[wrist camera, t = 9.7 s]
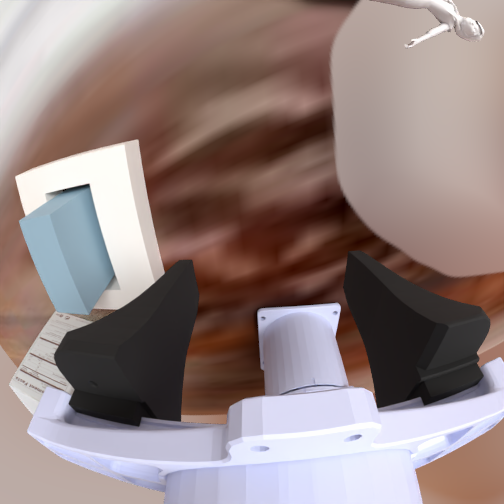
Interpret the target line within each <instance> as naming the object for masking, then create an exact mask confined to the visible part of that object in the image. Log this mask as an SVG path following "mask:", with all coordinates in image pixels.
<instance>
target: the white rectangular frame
mask: <svg viewBox="0 0 504 504" xmlns="http://www.w3.org/2000/svg"><path fill="white" fill-rule="evenodd" d="M16 182H17V186H18V190H19V194H20V198H21V202H22V205H23V209H24V212H25V216H27V215H28V214H30V213H31V212H33V211H34V210H36V209H37V208H39V207H40V206H42V205H43V204H45V203H46V202H48V201H49V200H51V199H52V198H54V197H56V196H57V195H59V194H60V193H62V192H63V190H62V189H66V188H70V187H75V186H79V185H84V184H90V188H91V193H92V197H93V201H94V205H95V209H96V213H97V217H98V220H99V224H100V228H101V231H102V235H103V238H104V241H105V245H106V248H107V251H108V254H109V257H110V260H111V263H112V266H113V269H114V272H115V275H114V276H113V278H112V279H111V281H110V282H109V284H108V285H107V287H106V289H105V290H104V292H103V293H102V295H101V296H100V298H99V299H98V301H97V303H96V304H95V306H94V307H93V309H117V310H118V309H120V308H122V307H123V306H125V305H126V304H128V303H129V302H131V301H132V300H134V299H135V298H136V297H138V296H139V295H140V294H142V293H143V292H144V291H145V290H146V289H148V288H149V287H150V286H151V285H152V284H154V283H155V282H156V281H157V280H158V279H159V278H160V277H161V276H162V275H164V274H165V272H164V268H163V264H162V260H161V256H160V252H159V248H158V244H157V239H156V235H155V231H154V226H153V221H152V217H151V212H150V207H149V202H148V197H147V191H146V186H145V180H144V175H143V169H142V162H141V156H140V149H139V142H138V140H133V141H128V142H123V143H119V144H114V145H110V146H106V147H102V148H98V149H94V150H90V151H86V152H83V153H79V154H76V155H72V156H69V157H66V158H62V159H59V160H56V161H53V162H50V163H47V164H44V165H41V166H38V167H35V168H33V169H30V170H28V171H26V172H24V173H22V174H20V175H18V176H16Z"/></svg>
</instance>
